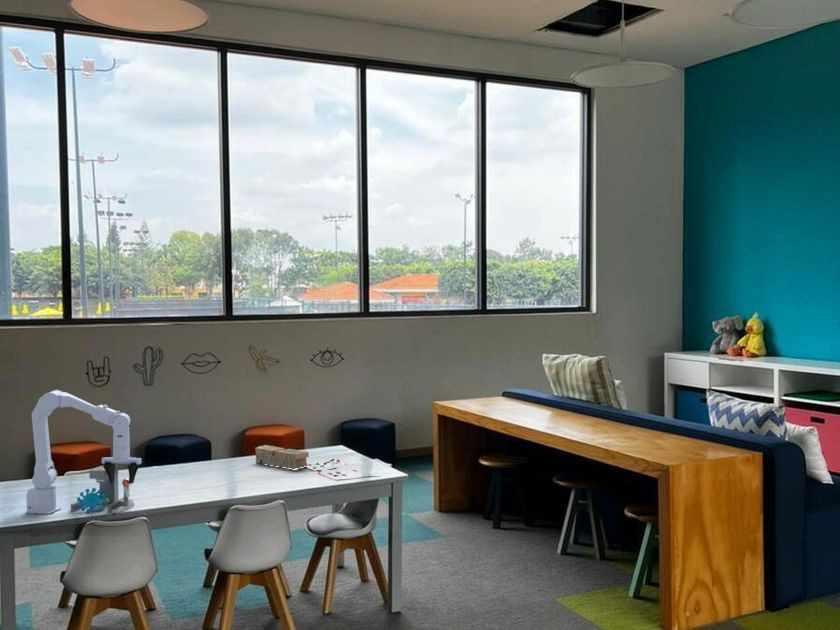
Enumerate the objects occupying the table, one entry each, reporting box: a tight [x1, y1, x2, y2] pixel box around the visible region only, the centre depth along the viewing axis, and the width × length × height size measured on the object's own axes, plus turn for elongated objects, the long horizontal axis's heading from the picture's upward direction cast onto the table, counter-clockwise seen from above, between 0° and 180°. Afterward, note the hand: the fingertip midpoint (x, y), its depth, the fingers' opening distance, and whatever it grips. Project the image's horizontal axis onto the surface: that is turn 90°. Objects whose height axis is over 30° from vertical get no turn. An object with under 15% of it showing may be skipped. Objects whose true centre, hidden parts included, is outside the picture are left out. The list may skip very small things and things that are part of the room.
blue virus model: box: [76, 487, 109, 513], centre depth 305 cm, size 11×6×10 cm
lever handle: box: [121, 478, 133, 505], centre depth 308 cm, size 3×3×10 cm
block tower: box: [255, 444, 310, 469], centre depth 381 cm, size 8×8×29 cm
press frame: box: [70, 464, 135, 515], centre depth 308 cm, size 19×16×14 cm
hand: (121, 482), depth 307 cm, fingers open, 7 cm apart
